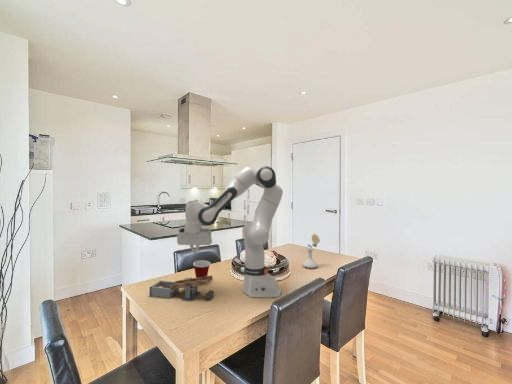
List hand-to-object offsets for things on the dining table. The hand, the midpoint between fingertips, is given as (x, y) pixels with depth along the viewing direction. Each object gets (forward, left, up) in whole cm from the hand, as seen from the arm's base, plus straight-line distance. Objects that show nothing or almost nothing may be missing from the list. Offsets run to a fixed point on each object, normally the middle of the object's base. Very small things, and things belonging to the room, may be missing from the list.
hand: (195, 252), depth 148 cm
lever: (-2, +6, -15) cm, 16 cm away
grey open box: (+14, +9, -22) cm, 27 cm away
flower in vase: (-67, -58, -22) cm, 91 cm away
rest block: (-13, +9, -22) cm, 27 cm away
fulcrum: (-2, +9, -22) cm, 24 cm away
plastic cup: (+1, -12, -22) cm, 25 cm away
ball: (+16, +9, -19) cm, 27 cm away
